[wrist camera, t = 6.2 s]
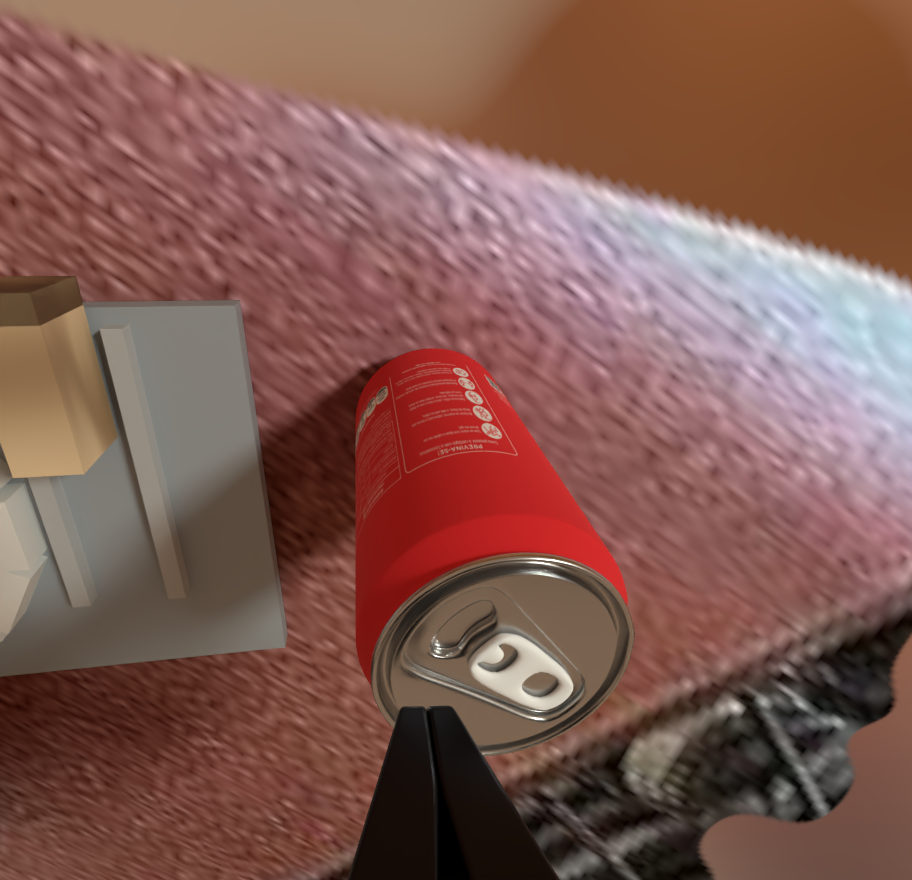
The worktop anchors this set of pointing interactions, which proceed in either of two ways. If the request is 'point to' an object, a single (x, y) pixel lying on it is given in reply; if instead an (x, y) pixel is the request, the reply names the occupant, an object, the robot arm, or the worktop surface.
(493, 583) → the beverage can
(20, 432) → the bar
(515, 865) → the robot arm
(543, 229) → the worktop surface
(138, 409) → the dock board
